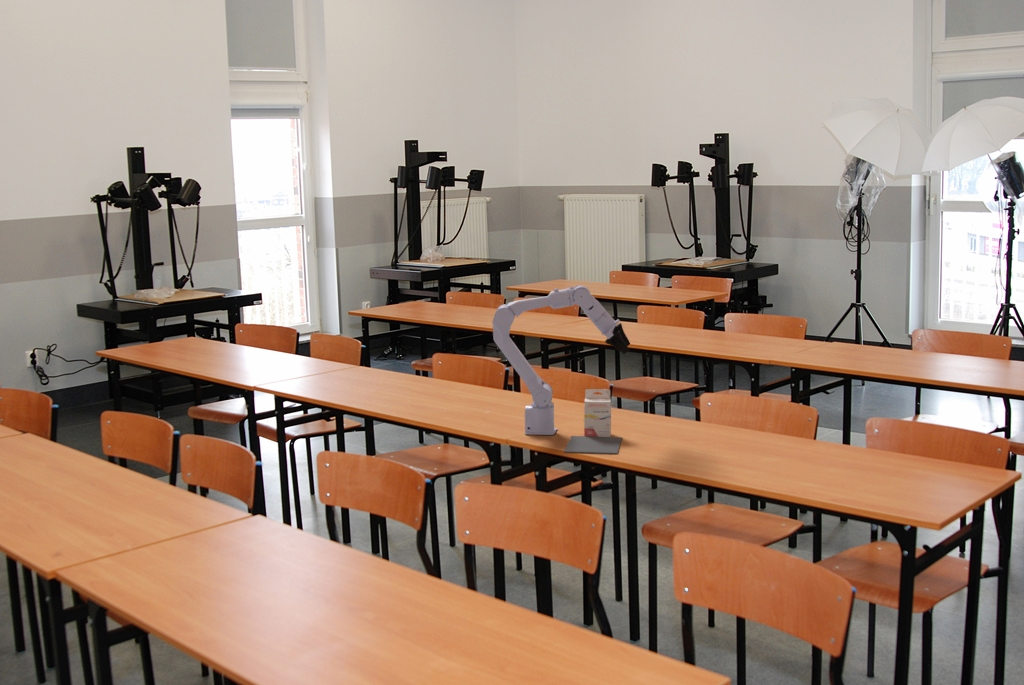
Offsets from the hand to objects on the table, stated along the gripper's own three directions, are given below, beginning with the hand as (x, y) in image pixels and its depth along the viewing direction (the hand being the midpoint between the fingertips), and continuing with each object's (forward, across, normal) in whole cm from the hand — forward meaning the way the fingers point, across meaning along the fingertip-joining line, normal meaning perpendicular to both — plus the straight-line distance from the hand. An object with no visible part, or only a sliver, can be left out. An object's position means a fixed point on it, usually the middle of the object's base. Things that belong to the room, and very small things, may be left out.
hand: (627, 348), depth 314 cm
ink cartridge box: (+15, -8, +24) cm, 29 cm away
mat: (+14, -20, +24) cm, 34 cm away
